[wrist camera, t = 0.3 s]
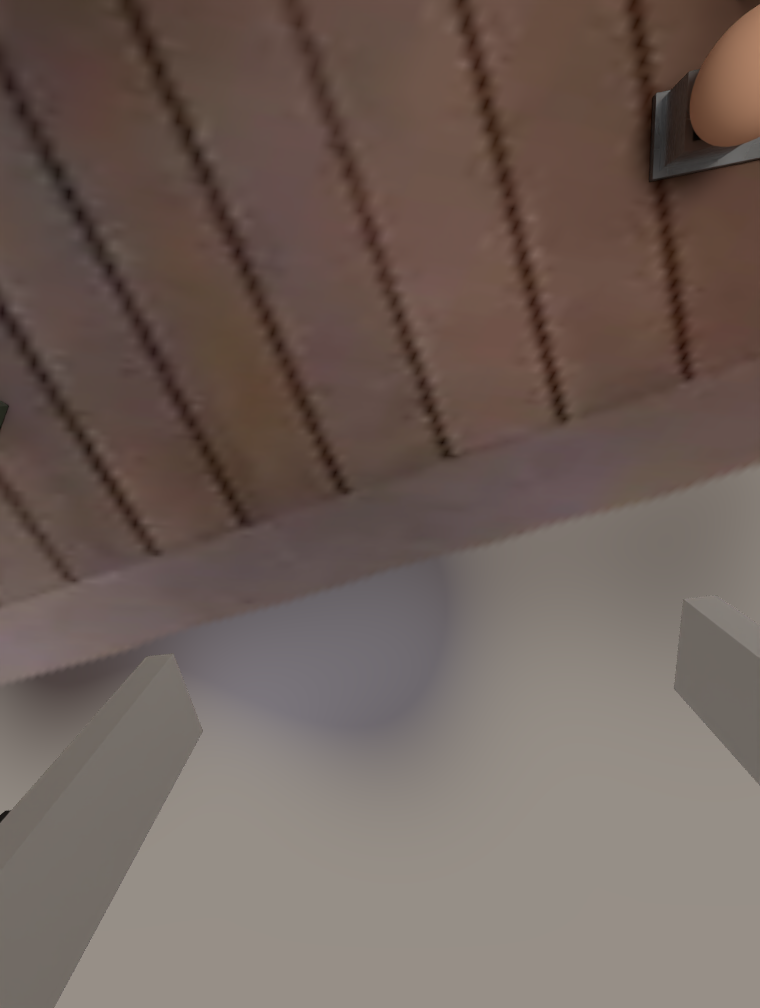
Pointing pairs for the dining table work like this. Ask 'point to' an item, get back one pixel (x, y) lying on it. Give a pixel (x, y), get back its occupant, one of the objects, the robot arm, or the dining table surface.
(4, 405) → the potted plant
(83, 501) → the dining table surface
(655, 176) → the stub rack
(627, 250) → the dining table surface
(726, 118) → the ball terracotta
